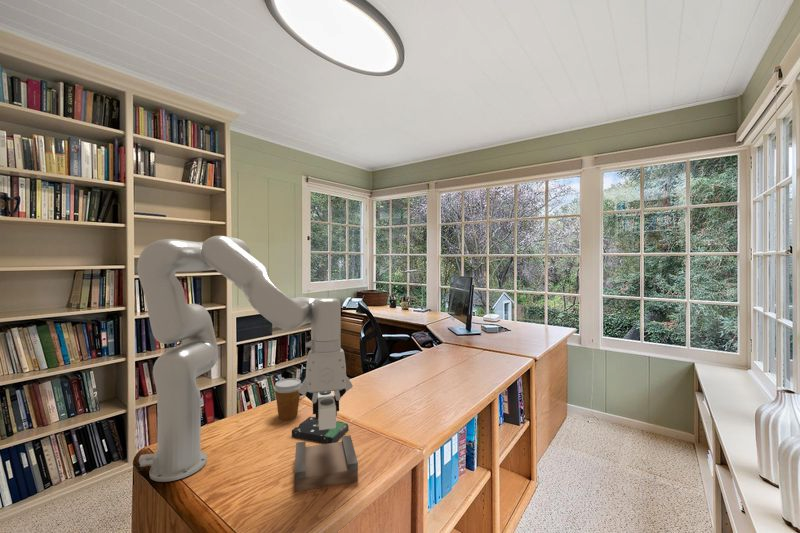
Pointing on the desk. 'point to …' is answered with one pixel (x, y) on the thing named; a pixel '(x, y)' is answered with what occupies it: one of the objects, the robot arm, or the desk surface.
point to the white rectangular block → (326, 410)
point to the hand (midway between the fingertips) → (325, 414)
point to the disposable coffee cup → (287, 398)
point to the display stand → (325, 464)
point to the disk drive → (319, 431)
